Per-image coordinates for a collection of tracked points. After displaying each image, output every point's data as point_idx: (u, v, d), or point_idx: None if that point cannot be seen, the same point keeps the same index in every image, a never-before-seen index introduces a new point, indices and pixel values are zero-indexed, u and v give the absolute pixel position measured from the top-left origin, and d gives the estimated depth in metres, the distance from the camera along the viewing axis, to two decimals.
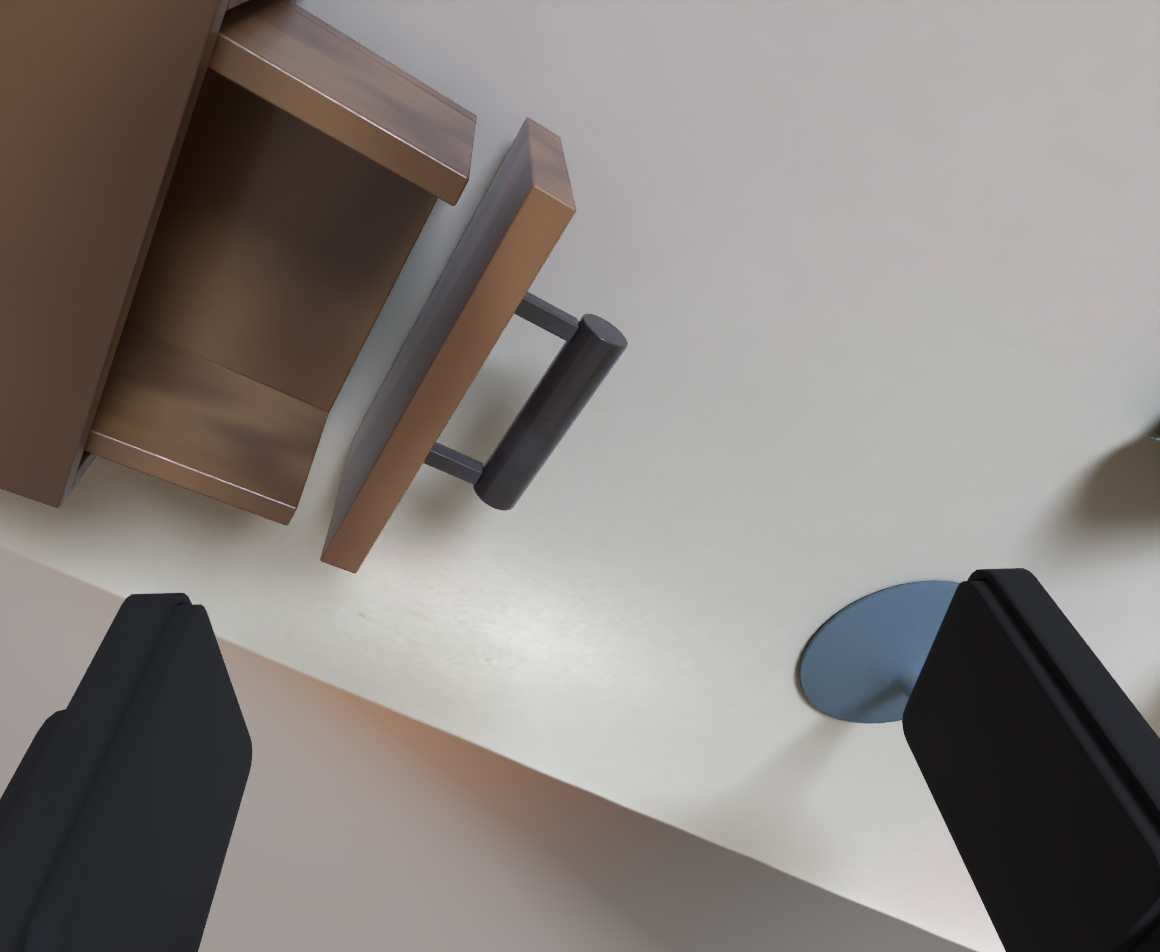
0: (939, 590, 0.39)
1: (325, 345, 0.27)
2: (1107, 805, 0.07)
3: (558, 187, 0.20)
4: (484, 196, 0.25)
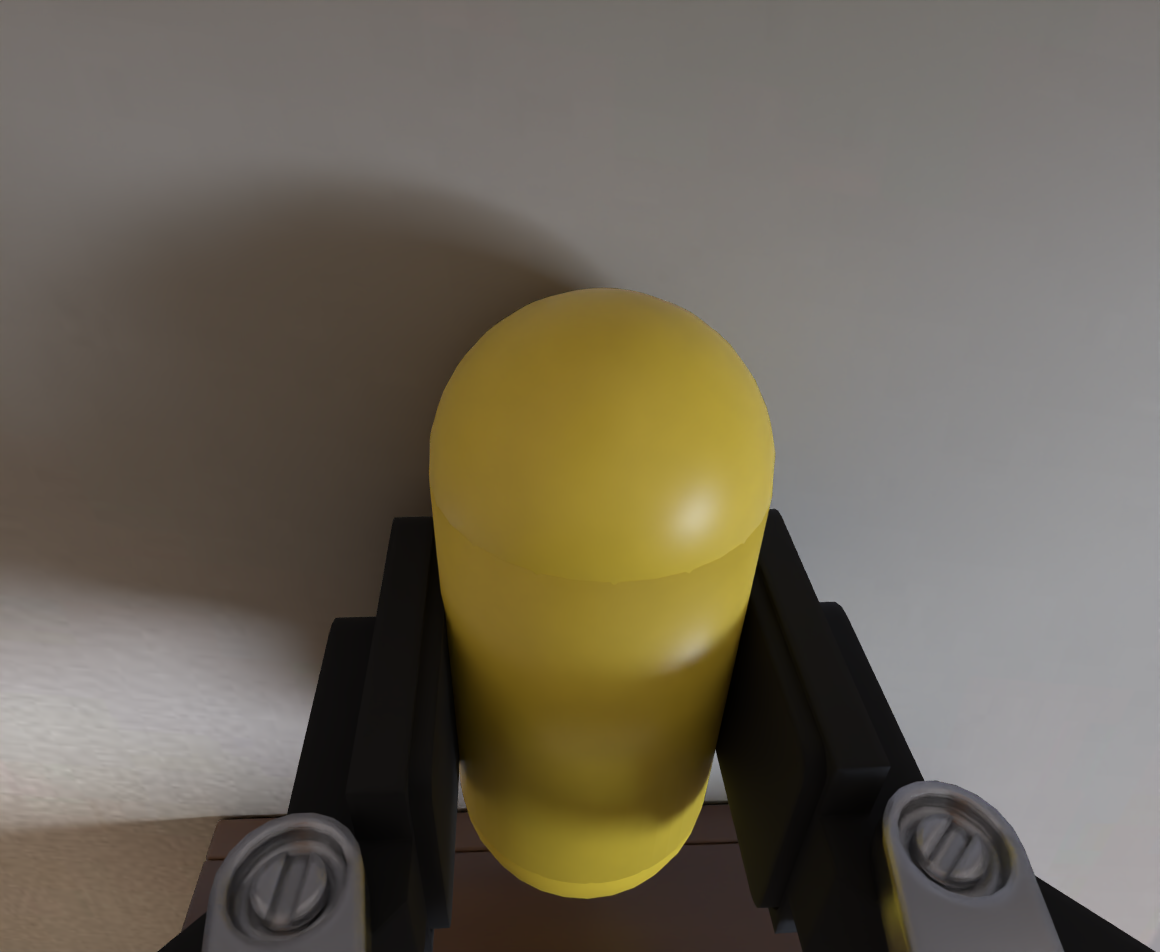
0: None
1: None
2: (781, 706, 0.08)
3: None
4: None
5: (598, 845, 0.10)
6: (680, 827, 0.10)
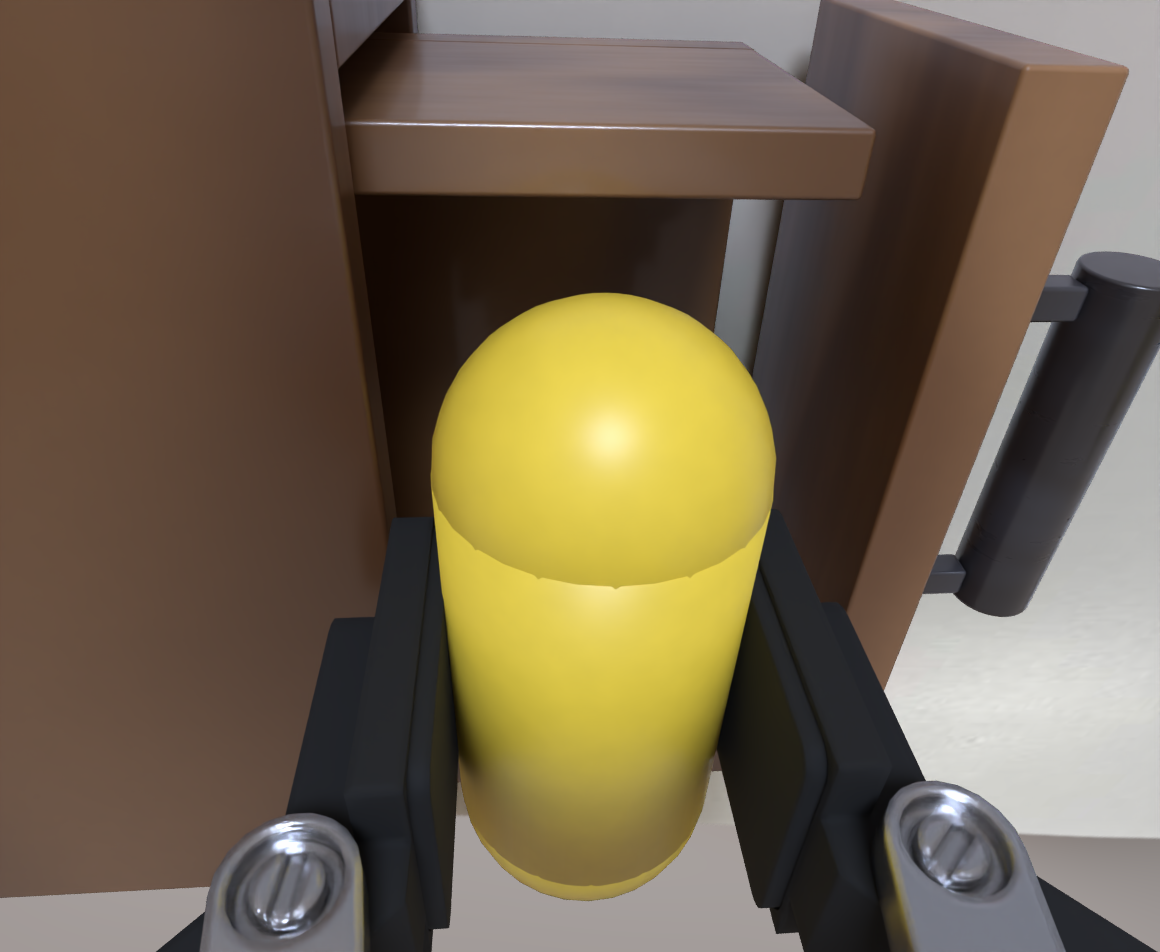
0: None
1: None
2: (782, 707, 0.08)
3: (1042, 51, 0.09)
4: None
5: (598, 848, 0.10)
6: (681, 830, 0.10)
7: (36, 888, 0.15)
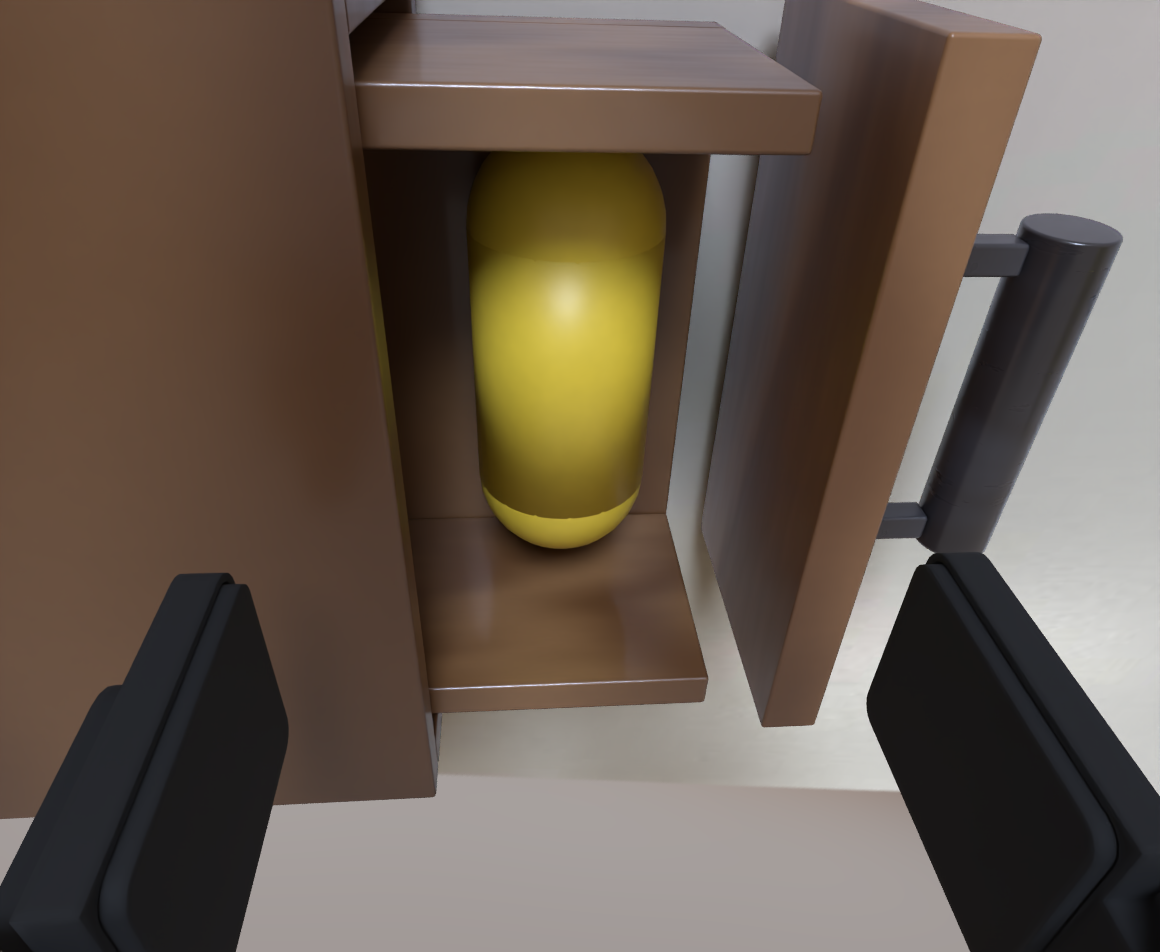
0: None
1: None
2: (1046, 777, 0.08)
3: (971, 22, 0.10)
4: None
5: (573, 482, 0.16)
6: (625, 483, 0.16)
7: None
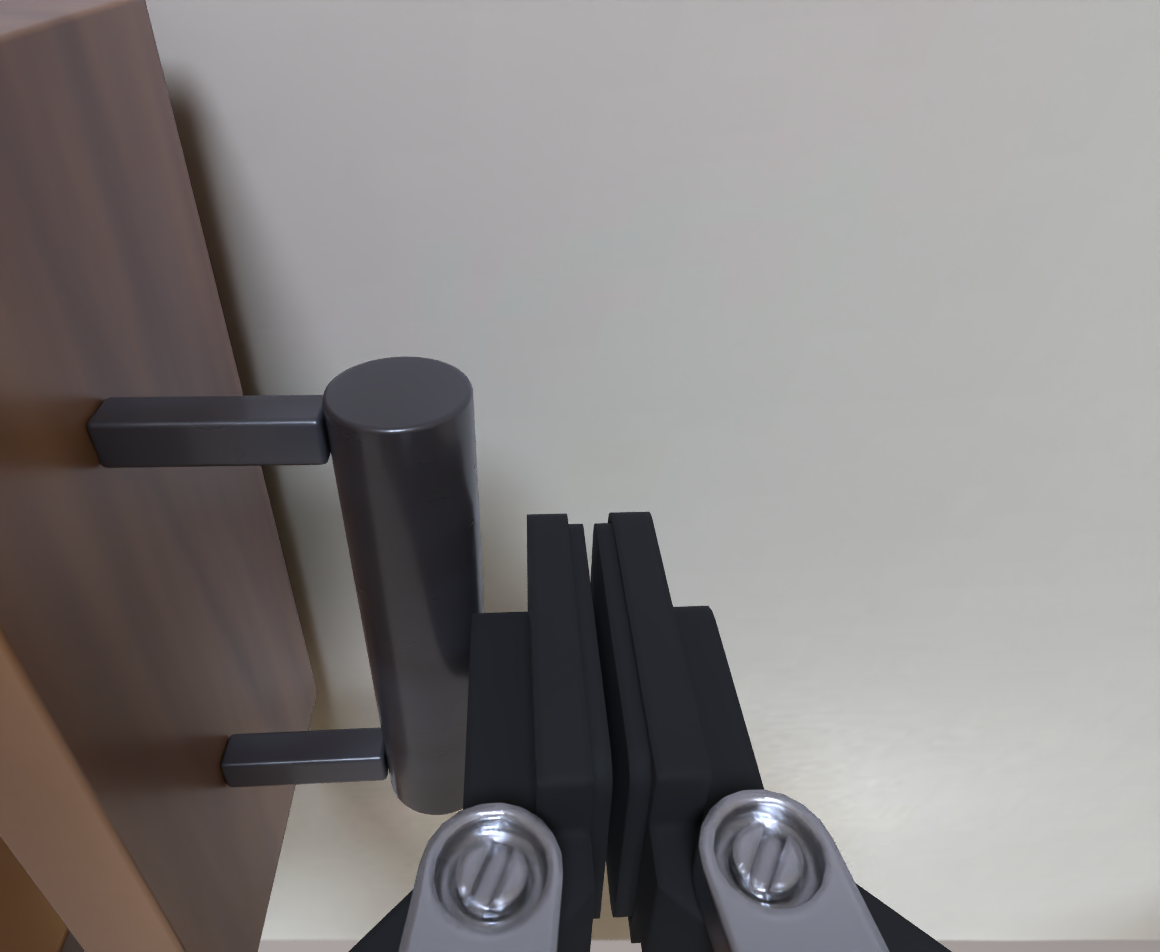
0: None
1: None
2: (619, 713, 0.08)
3: None
4: None
5: None
6: None
7: None
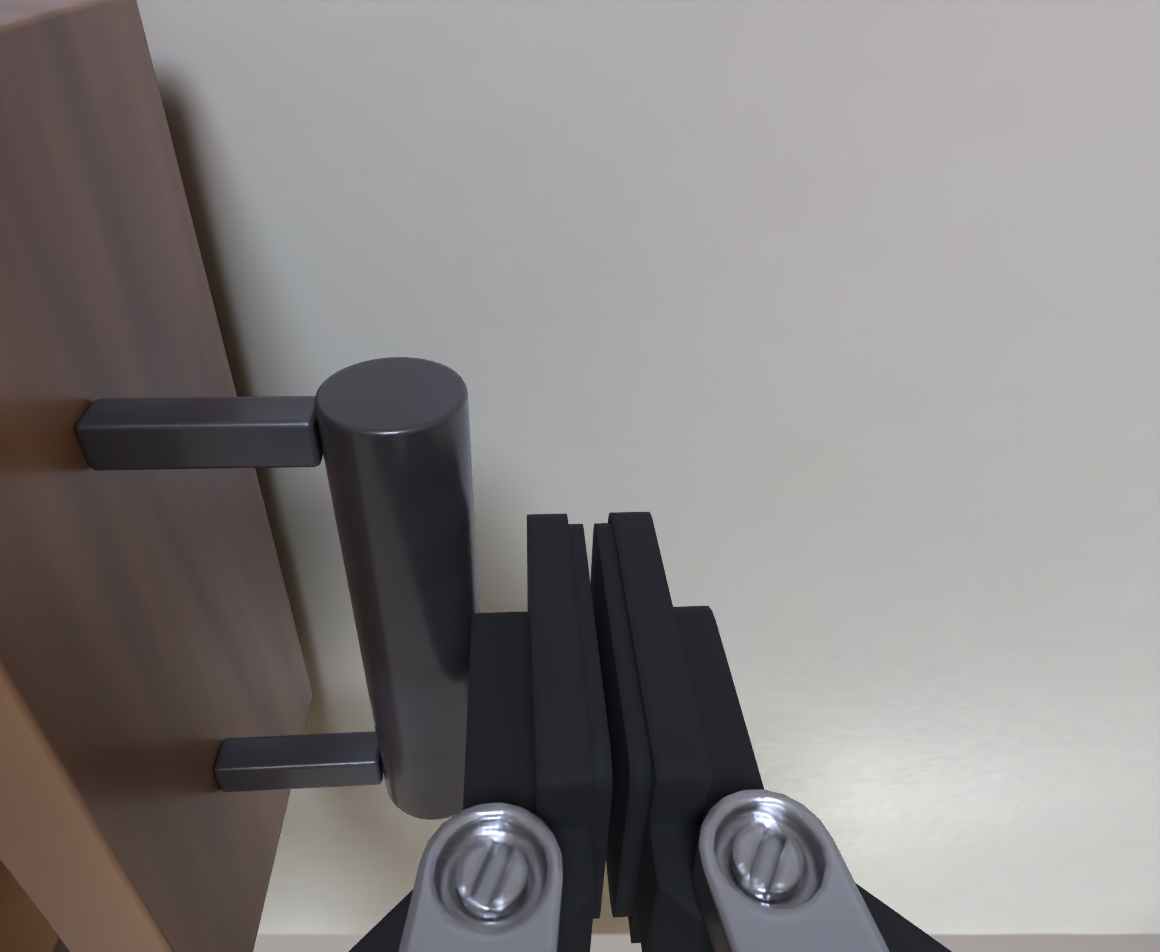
0: None
1: None
2: (619, 713, 0.08)
3: None
4: None
5: None
6: None
7: None
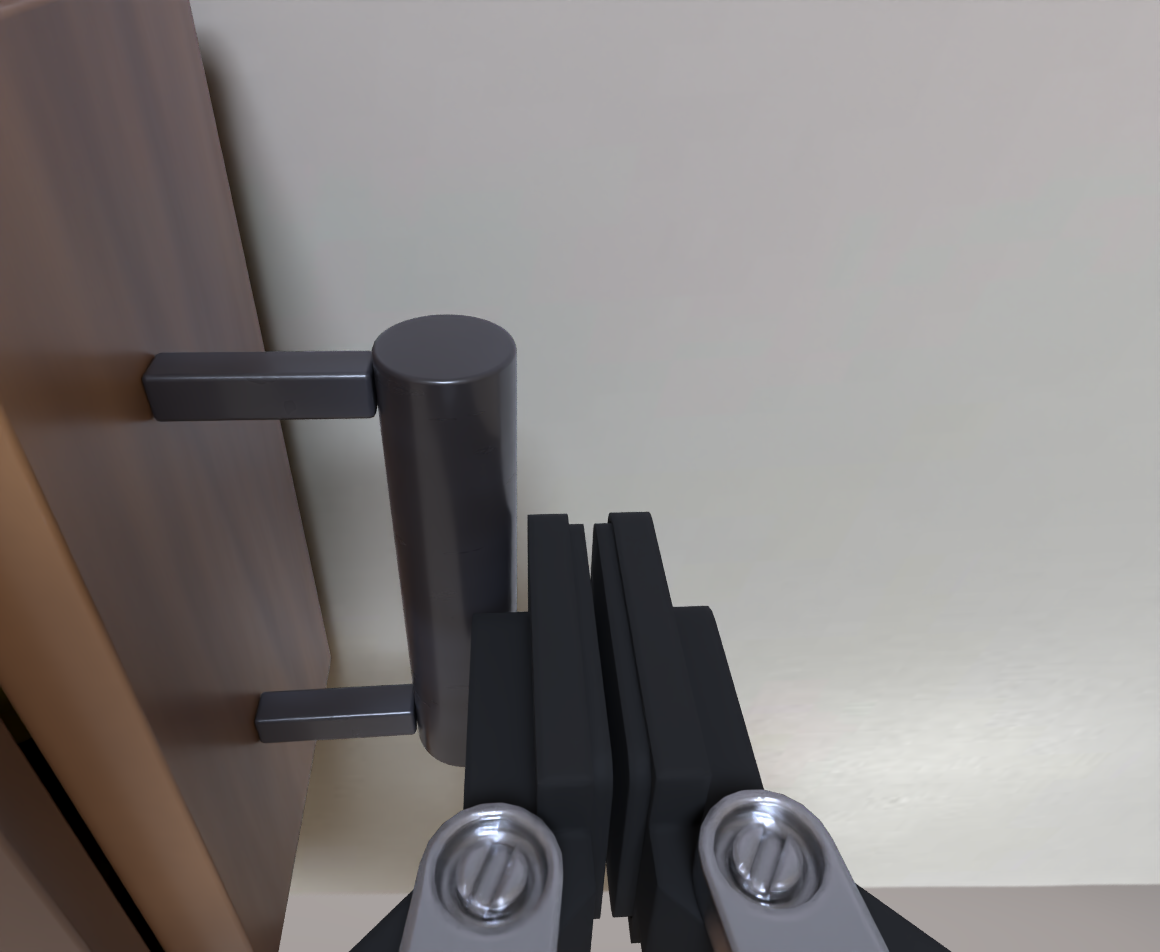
0: None
1: None
2: (619, 713, 0.08)
3: None
4: None
5: None
6: None
7: None
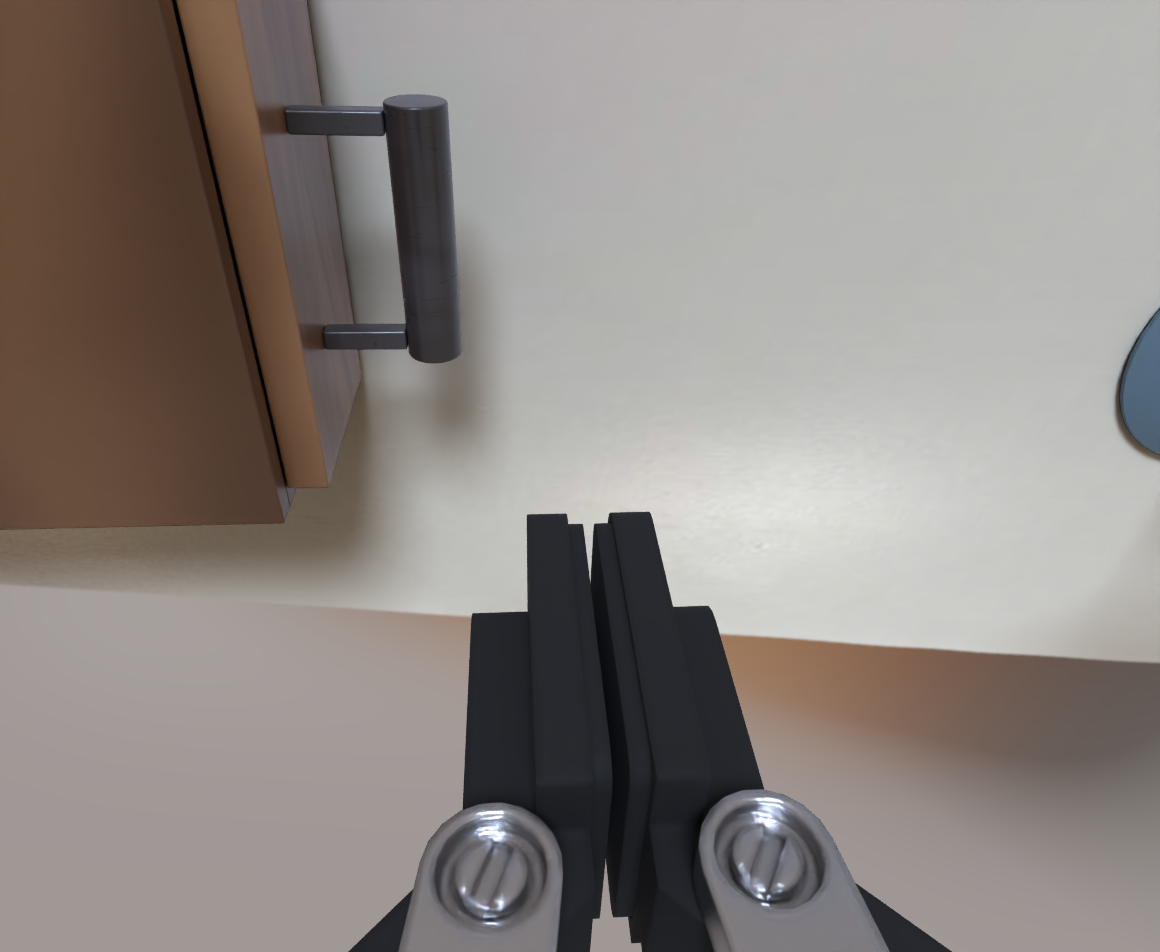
0: None
1: None
2: (619, 713, 0.08)
3: None
4: None
5: None
6: None
7: (21, 521, 0.23)
